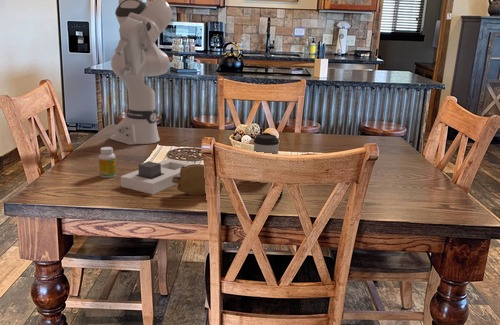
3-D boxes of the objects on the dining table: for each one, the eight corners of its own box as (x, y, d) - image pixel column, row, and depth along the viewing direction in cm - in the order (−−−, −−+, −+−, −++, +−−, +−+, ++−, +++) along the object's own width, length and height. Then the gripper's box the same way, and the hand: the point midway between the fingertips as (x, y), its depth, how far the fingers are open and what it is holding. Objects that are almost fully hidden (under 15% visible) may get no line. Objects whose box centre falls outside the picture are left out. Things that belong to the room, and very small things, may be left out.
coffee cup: (278, 180, 165) (280, 138, 160) (252, 180, 165) (253, 137, 160) (276, 172, 173) (278, 132, 169) (251, 172, 173) (253, 131, 169)
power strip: (121, 186, 154) (120, 165, 152) (169, 167, 175) (169, 149, 173) (152, 194, 148) (152, 172, 146) (198, 174, 169) (199, 154, 167)
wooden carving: (224, 191, 153) (224, 161, 150) (225, 196, 148) (226, 165, 146) (171, 192, 150) (171, 161, 147) (171, 197, 146) (171, 166, 143)
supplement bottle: (109, 179, 160) (108, 151, 158) (96, 176, 162) (94, 149, 160) (119, 174, 165) (118, 147, 163) (106, 172, 167) (105, 145, 164)
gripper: (136, 55, 165) (115, 82, 157) (129, 8, 147) (105, 36, 140) (152, 61, 164) (132, 89, 157) (147, 14, 147) (124, 43, 139)
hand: (119, 63), depth 148 cm, fingers open, 8 cm apart
